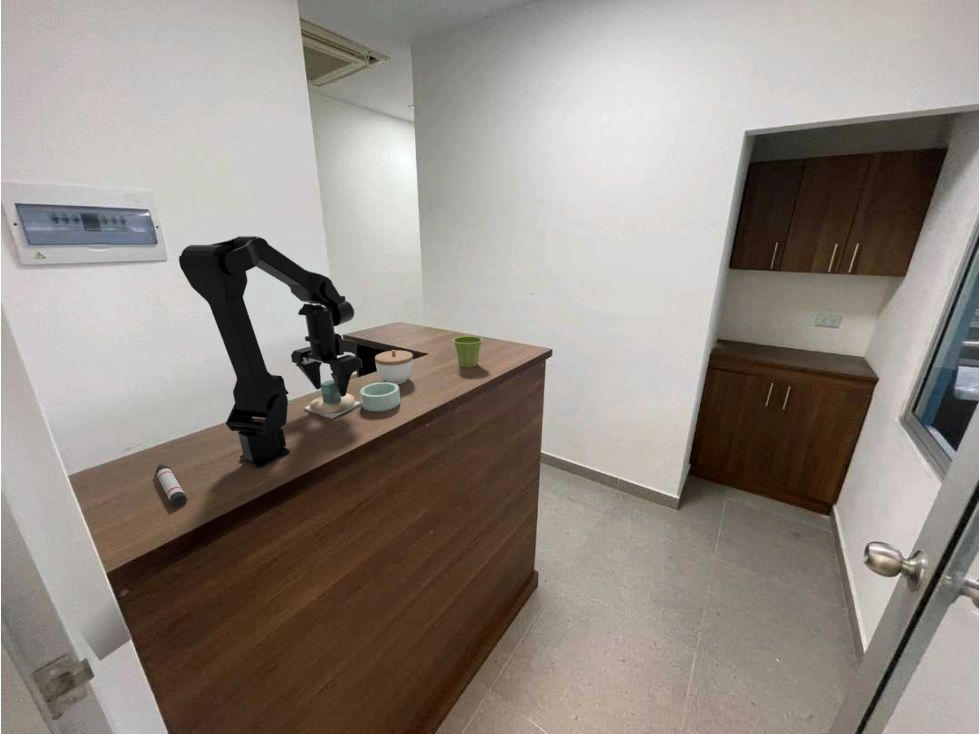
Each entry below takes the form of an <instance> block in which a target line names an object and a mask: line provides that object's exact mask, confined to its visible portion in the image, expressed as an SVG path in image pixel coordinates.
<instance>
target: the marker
mask: <svg viewBox="0 0 979 734" xmlns="http://www.w3.org/2000/svg"><path fill="white" fill-rule="evenodd" d="M155 473H156V476H157V479H158V480H159V483H160V485H161V486H162V488H163V490H164V492H165V494H166V496H167V498H168V500H169V501H170V503H171V505H172V506H173V507H174V508H177V507H179V506H183V505H184V504H186V503H187V502H188V498H187V496H186V493H185V492H184V490H183V488H182V486H181V485H180V483H179V482H178V480H177V479H176V476H175V475H174V474H173V472H172V470H171V469H170V467H169V466H167V465H165V464H161V463H159V465H158V466H157V467H156V470H155Z"/></svg>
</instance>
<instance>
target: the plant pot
mask: <svg viewBox="0 0 979 734" xmlns="http://www.w3.org/2000/svg"><path fill="white" fill-rule="evenodd" d="M452 342H453V343H454V347H455V349H456V350H455V351H456V355H457V359H458V365H459V367H465V369H466V368H475V367H476V366H478V364H479V355H480V350H481V349H480V347H481V344H482V342H483V339H482V338H481V337H479V336H473V335H472V336H471V335H465V336H459V337H455V338H453V339H452Z"/></svg>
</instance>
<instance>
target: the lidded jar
mask: <svg viewBox="0 0 979 734" xmlns="http://www.w3.org/2000/svg"><path fill="white" fill-rule="evenodd" d="M374 361H375V367H376V371H377V374H378V375H379V377H380V378H381V379H382V381H385V382H390V383H394V384H397V385H401V384H403V383H405V382H407V380H408V379H409V378H410V377H411V375H412V372H413V367H414V355H413V353H412V352H410V351H407V350H395V349H392V350H389V351H383V352H381V353H378V354H376V355H375V356H374Z"/></svg>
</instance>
